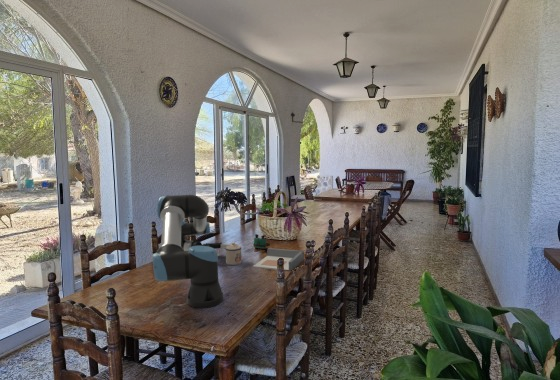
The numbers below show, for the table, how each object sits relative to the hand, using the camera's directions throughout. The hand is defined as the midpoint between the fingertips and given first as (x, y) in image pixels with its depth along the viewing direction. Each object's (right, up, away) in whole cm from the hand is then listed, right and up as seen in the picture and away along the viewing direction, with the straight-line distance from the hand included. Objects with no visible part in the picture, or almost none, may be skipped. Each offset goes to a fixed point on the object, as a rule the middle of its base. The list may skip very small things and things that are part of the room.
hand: (225, 250), depth 218 cm
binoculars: (+20, -4, +21) cm, 30 cm away
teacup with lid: (+6, -7, -2) cm, 9 cm away
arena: (+31, -6, -6) cm, 32 cm away
